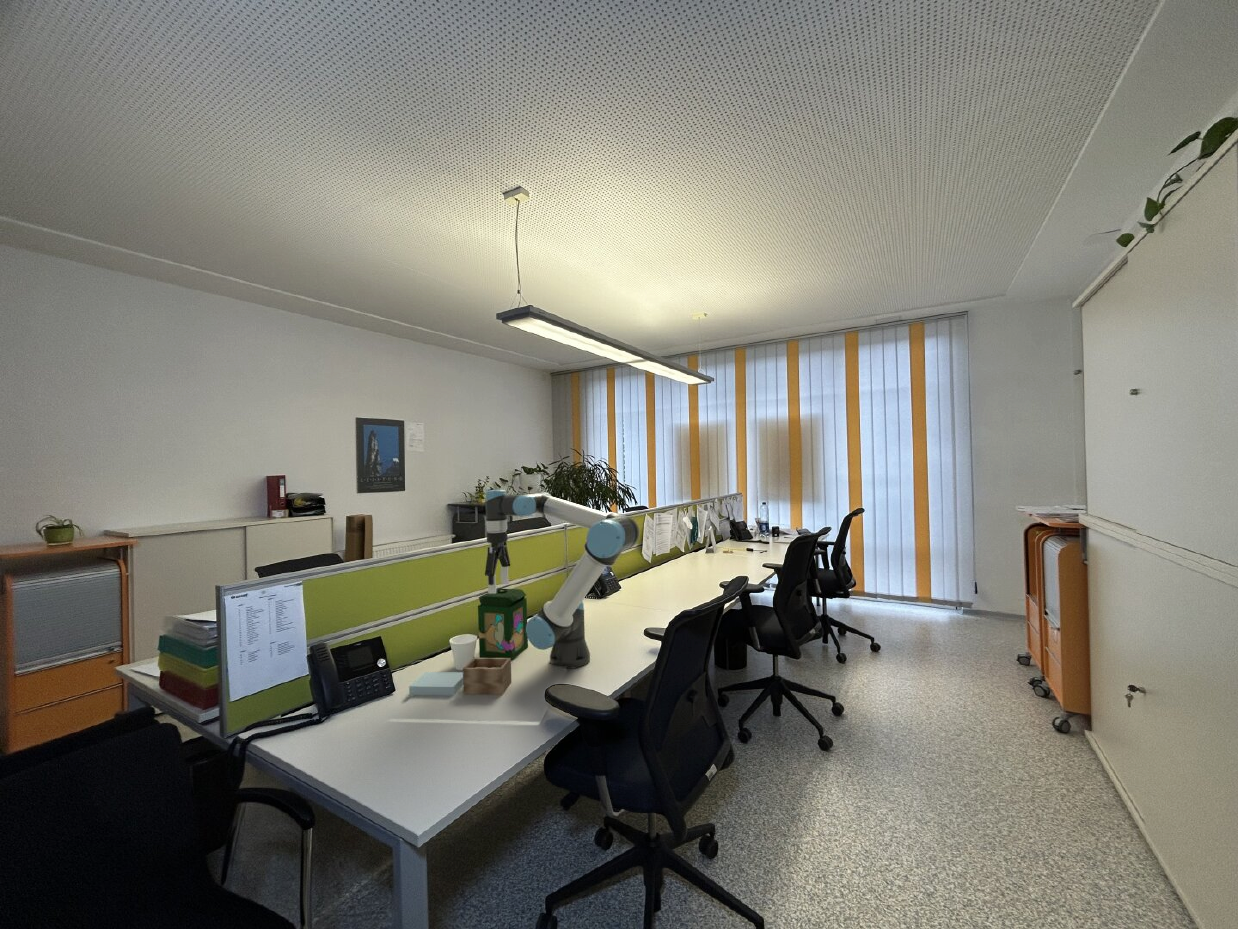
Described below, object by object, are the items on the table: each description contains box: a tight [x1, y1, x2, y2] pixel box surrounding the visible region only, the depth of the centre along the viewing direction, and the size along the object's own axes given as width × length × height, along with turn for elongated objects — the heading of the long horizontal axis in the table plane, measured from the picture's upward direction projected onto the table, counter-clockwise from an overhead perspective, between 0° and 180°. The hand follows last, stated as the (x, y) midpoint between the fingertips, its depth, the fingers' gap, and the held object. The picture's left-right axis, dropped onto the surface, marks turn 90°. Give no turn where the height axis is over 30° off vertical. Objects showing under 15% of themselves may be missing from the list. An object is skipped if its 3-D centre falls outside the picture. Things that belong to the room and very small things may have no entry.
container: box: [477, 587, 529, 662], centre depth 196 cm, size 15×18×25 cm
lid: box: [408, 671, 463, 698], centre depth 165 cm, size 15×11×4 cm
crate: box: [462, 657, 513, 696], centre depth 163 cm, size 13×9×9 cm
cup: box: [449, 633, 478, 671], centre depth 182 cm, size 10×10×11 cm
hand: (498, 588), depth 183 cm, fingers open, 13 cm apart
